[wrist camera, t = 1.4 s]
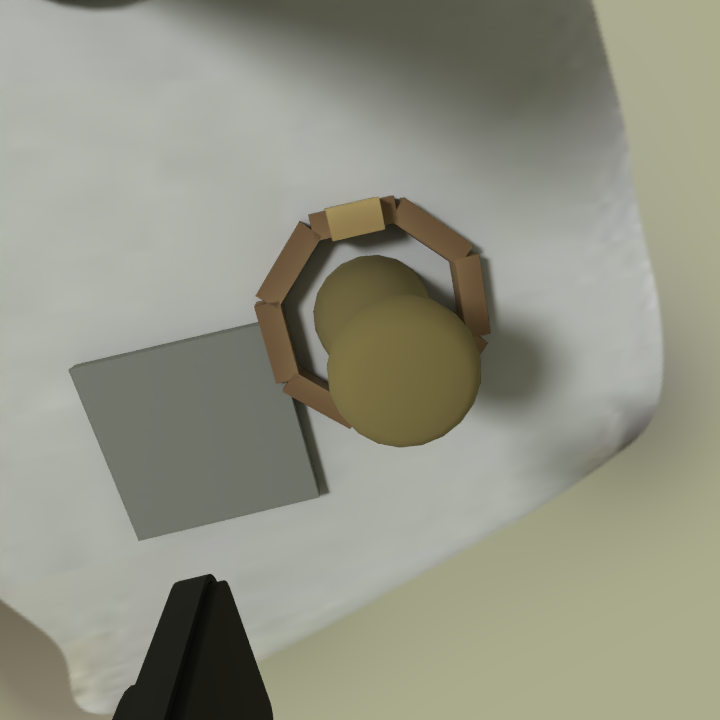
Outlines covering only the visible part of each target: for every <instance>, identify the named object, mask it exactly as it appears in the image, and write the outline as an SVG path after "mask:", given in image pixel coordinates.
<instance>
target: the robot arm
mask: <svg viewBox="0 0 720 720" xmlns="http://www.w3.org/2000/svg"><path fill="white" fill-rule="evenodd" d="M112 720H273V713H272V707H271V703H270V700H269V697H268V695H267V692H266V689H265V686H264V683H263V680H262V678H261V675H260V672H259V669H258V666H257V663H256V661H255V658H254V655H253V652H252V649H251V646H250V644H249V641H248V638H247V635H246V632H245V629H244V627H243V624H242V621H241V618H240V615H239V612H238V610H237V607H236V604H235V601H234V598H233V595H232V593H231V590H230V587H229V585H228V583H227V582H226V581H225V580H223V581H219V582H217V581H216V578H215V577H214V576H213V575H212V574H207V575H203V576H199V577H195V578H191V579H187V580H182V581H178V582H176V583H175V584H174V585H173V587H172V589H171V591H170V594H169V597H168V599H167V602H166V605H165V607H164V610H163V613H162V615H161V618H160V620H159V623H158V626H157V628H156V631H155V634H154V636H153V639H152V642H151V644H150V647H149V650H148V652H147V655H146V657H145V660H144V663H143V665H142V668H141V671H140V673H139V676H138V679H137V681H136V684H135V685H132V686H130V687H129V688H128V689H127V690H126V691H125V692H124V694H123V696H122V698H121V700H120V702H119V704H118V706H117V709H116V711H115V714H114V716H113V719H112Z"/></svg>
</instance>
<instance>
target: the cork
mask: <svg viewBox="0 0 720 720" xmlns="http://www.w3.org/2000/svg"><path fill="white" fill-rule="evenodd" d="M313 312H314V322H315V330H316V332H317V334H318V337H319V339H320V341H321V343H322V345H323V347H324V349H325V350H326V352H327V353H328V355H329V359H328V363H327V371H328V381H329V391H330V394H331V397H332V399H333V401H334V403H335V405H336V407H337V410H338V412H339V413H340V414H341V416H342V417H343V418H344V419H345V420H346V421H347V422H348V423H349V424H350V425H351V426H352V427H353V428H354V429H355V430H356V431H357V432H358V433H359V434H361V435H363V436H365V437H367V438H369V439H370V440H372V441H374V442H376V443H378V444H384V445H389V446H395V447H408V446H417V445H423V444H426V443H428V442H431V441H433V440H435V439H438V438H440V437H443V436H444V435H445V434H447V433H448V432H449V431H450V430H452V429H453V428H454V427H455V426H457V425H458V424H459V423H460V422H461V421H462V420H463V418H464V417H465V415H466V414H467V413H468V411H469V410H470V408H471V407H472V405H473V404H474V401H475V398H476V395H477V392H478V389H479V386H480V383H481V372H480V356H479V353H478V350H477V347H476V344H475V341H474V338H473V336H472V333H471V332H470V330H469V329H468V328H467V327H466V325H465V324H464V323H463V322H462V321H461V319H460V318H459V317H458V316H457V315H456V314H455V313H454V312H452V311H450V310H449V309H447V308H446V307H444V306H442V305H441V304H439V303H438V302H436V301H434V300H433V299H430V297H429V294H428V292H427V290H426V287H425V285H424V283H423V282H422V281H421V279H420V278H419V277H418V276H417V274H416V273H415V272H414V271H413V270H412V269H411V268H409V267H408V266H406V265H405V264H403V263H401V262H400V261H398V260H397V259H393V258H389V257H384V256H380V255H373V256H361V257H357V258H355V259H353V260H350V261H348V262H346V263H343V264H341V265H340V266H339V267H338V268H337V269H336V270H334V271H333V272H332V273H331V274H330V275H329V276H328V277H327V278H326V280H325V281H324V283H323V285H322V286H321V288H320V290H319V291H318V293H317V297H316V302H315V307H314V311H313Z"/></svg>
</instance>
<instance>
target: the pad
mask: <svg viewBox="0 0 720 720" xmlns="http://www.w3.org/2000/svg"><path fill="white" fill-rule="evenodd" d="M69 373H70V375H71V377H72V380H73V382H74V385H75V387H76V390H77V392H78V394H79V397H80V399H81V402H82V404H83V407H84V409H85V411H86V414H87V416H88V419H89V421H90V424H91V426H92V428H93V431H94V433H95V436H96V438H97V441H98V443H99V445H100V448H101V450H102V453H103V455H104V458H105V460H106V462H107V465H108V467H109V470H110V472H111V475H112V477H113V479H114V482H115V484H116V487H117V489H118V492H119V494H120V496H121V499H122V501H123V504H124V506H125V509H126V511H127V513H128V516H129V518H130V521H131V523H132V526H133V528H134V530H135V533H136V535H137V538H138V540H139V541H140V540H145V539H149V538H153V537H157V536H161V535H165V534H169V533H174V532H178V531H182V530H186V529H190V528H194V527H198V526H203V525H207V524H211V523H215V522H219V521H223V520H227V519H231V518H236V517H240V516H244V515H248V514H252V513H256V512H260V511H265V510H269V509H273V508H277V507H281V506H285V505H289V504H293V503H298V502H302V501H306V500H310V499H314V498H318V497H319V487H318V484H317V480H316V477H315V473H314V469H313V466H312V462H311V459H310V455H309V451H308V448H307V444H306V441H305V437H304V433H303V430H302V426H301V422H300V419H299V415H298V412H297V408H296V404H295V401H294V398H293V397H291V396H289V395H288V394H286V393H284V392H283V388H284V387H285V385H286V383H287V382H282V383H278V384H276V381H275V378H274V374H273V371H272V367H271V364H270V360H269V357H268V353H267V350H266V346H265V343H264V339H263V336H262V332H261V329H260V325H259V322H257V323H252V324H248V325H244V326H239V327H235V328H231V329H227V330H222V331H218V332H214V333H210V334H205V335H201V336H197V337H192V338H188V339H184V340H180V341H175V342H171V343H167V344H163V345H158V346H154V347H150V348H145V349H141V350H137V351H133V352H128V353H124V354H120V355H116V356H111V357H107V358H103V359H98V360H94V361H90V362H86V363H81V364H77V365H75V366H73V367H72V368H70V369H69Z"/></svg>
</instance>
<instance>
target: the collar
mask: <svg viewBox="0 0 720 720" xmlns="http://www.w3.org/2000/svg"><path fill="white" fill-rule="evenodd" d="M324 210H325V211H322V212H317V213H313V214H309V215H308V216H309V220H310V224H311V228H310V227H308V226H307V225H305V224H304V223H302V222H301V221H299V223H298V225H297V226H296V228H295V230H294V231H293V233H292V235H291V237H290V238H289V240H288V242H287V243H286V245H285V247H284V248H283V250H282V252H281V254H280V255H279V257H278V259H277V260H276V262H275V264H274V265H273V267H272V269H271V270H270V272H269V274H268V276H267V277H266V279H265V281H264V282H263V284H262V286H261V287H260V289H259V291H258V293H257V294H256V297H258V298H260V299H261V300H263V301H259V302H256V304H255V306H254V308H255V311H256V315H257V318H258V322H259V325H260V329H261V332H262V336H263V339H264V343H265V346H266V350H267V353H268V357H269V360H270V364H271V367H272V371H273V374H274V378H275V381H276V384H278V383H282V382H287V383H286V385H285V387H284V388H283V392H284V393H286V394H288V395H289V396H291V397H293V398H295V399H297V400H298V401H300V402H302V403H304V404H306V405H307V406H309V407H311V408H313V409H315V410H317V411H318V412H320V413H322V414H324V415H326V416H327V417H329V418H331V419H333V420H335V421H337V422H338V423H340V424H342V425H344V426H346V427H347V428H349V429H350V428H351V427H352V426H351V425H350V424H349V423H348V422H347V421H346V420H345V419H344V418H343V417H342V416H341V414H340V413H339V412H338V410H337V407H336V405H335V403H334V401H333V399H332V397H331V394H330V391H329V384H328V383H326V382H325V381H323V380H321V379H319V378H318V377H316V376H314V375H312V374H311V373H309V372H307V371H305V370H304V369H302V368H300V367H299V364H298V361H297V357H296V353H295V349H294V346H293V342H292V338H291V334H290V331H289V327H288V323H287V320H286V316H285V312H284V308H283V305H282V301H283V300H284V298H285V296H286V295H287V293H288V291H289V290H290V288H291V286H292V285H293V283H294V281H295V280H296V278H297V276H298V275H299V273H300V271H301V270H302V268H303V266H304V265H305V263H306V262H307V260H308V258H309V257H310V255H311V253H312V252H313V250H314V248H315V247H316V245H317V243H318V242H319V240H323V239H328V238H331V239H332V241H337V240H341V239H345V238H350V237H354V236H358V235H362V234H367V233H371V232H375V231H380V230H384V229H385V225H388V224H394V225H395V226H397V227H398V228H400V229H401V230H403V231H404V232H406V233H407V234H409V235H410V236H412V237H413V238H415V239H416V240H418V241H419V242H421V243H422V244H424V245H425V246H427V247H428V248H430V249H431V250H433V251H434V252H436V253H437V254H439V255H440V256H442V257H443V258H445V259H446V260H448V261H449V264H450V270H451V276H452V282H453V288H454V294H455V300H456V306H457V312H458V317H459V318H460V319H461V321H462V322H463V323H464V324H465V325H466V327H467V328H468V329H469V330H470V332H471V333H472V336H473V338H474V341H475V344H476V347H477V350H478V353H479V355H480V354H481V352H482V351H483V350H484V348H485V347H486V345H487V344H488V342H486V341H485V340H484V339H483V338H481V337H480V336H481V335H485V334H489V333H491V332H490V326H489V319H488V312H487V305H486V298H485V291H484V285H483V278H482V271H481V264H480V257H479V254H477V253H474V252H469V251H470V250H471V248H472V247H473V244H471V243H470V242H468V241H467V240H465V239H464V238H462V237H461V236H460V235H458V234H457V233H455V232H454V231H452V230H451V229H449V228H448V227H446V226H445V225H444V224H442V223H441V222H439V221H438V220H436V219H435V218H433V217H432V216H431V215H429V214H428V213H426V212H425V211H423V210H422V209H420V208H419V207H417V206H416V205H415V204H413V203H412V202H410V201H409V200H407V199H406V198H400V199H399V201H398V202H397V204H396V205H395V200H394V196H387V197H383V198H379V197H373V198H369V199H364V200H360V201H356V202H351V203H347V204H342V205H338V206H334V207H329V208H325V209H324Z"/></svg>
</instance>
